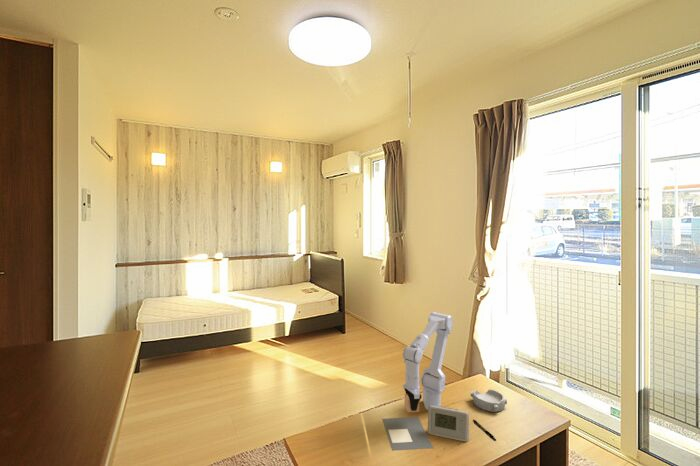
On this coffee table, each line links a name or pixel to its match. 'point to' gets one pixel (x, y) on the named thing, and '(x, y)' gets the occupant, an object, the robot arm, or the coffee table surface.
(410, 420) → the mat
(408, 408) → the block
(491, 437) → the pen
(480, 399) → the dish
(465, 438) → the digital clock
